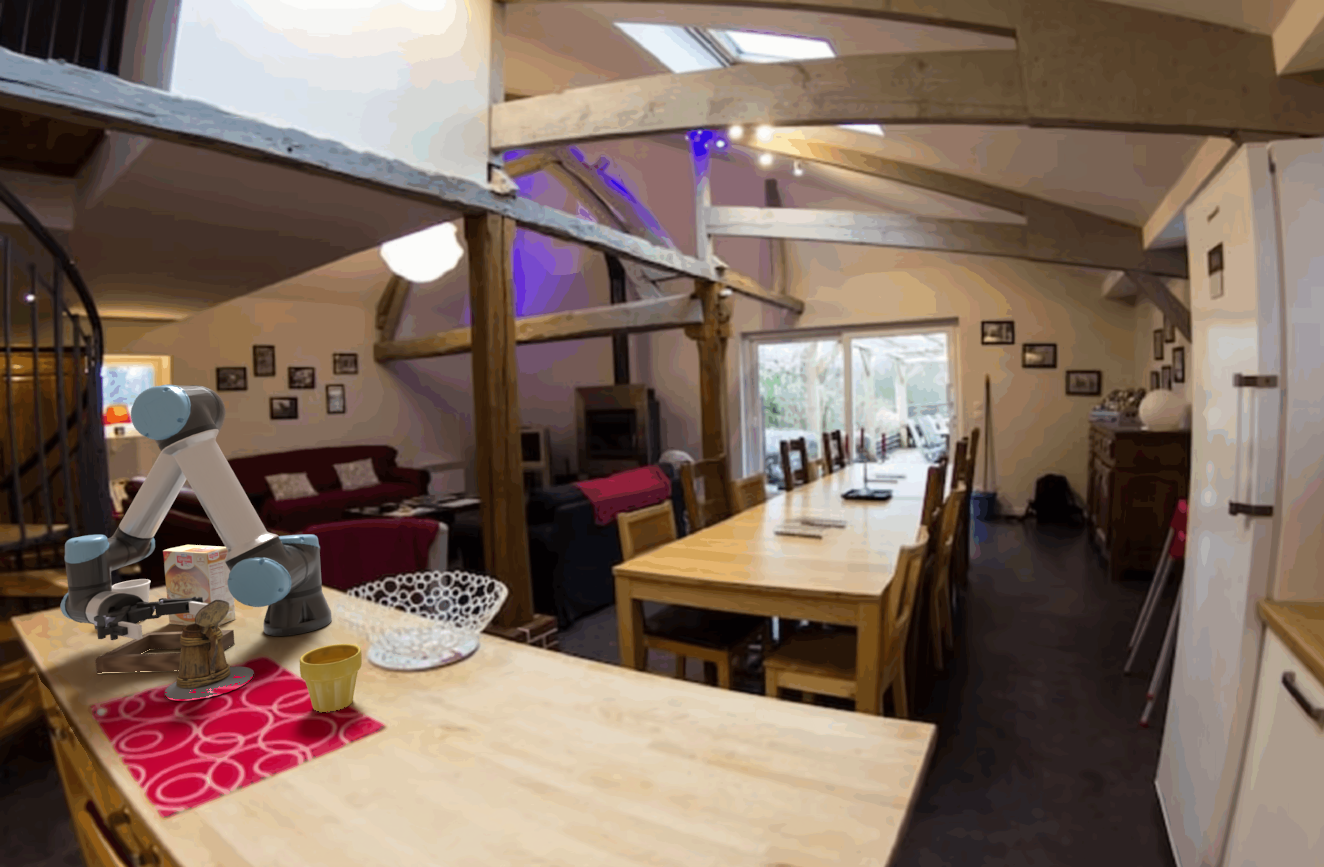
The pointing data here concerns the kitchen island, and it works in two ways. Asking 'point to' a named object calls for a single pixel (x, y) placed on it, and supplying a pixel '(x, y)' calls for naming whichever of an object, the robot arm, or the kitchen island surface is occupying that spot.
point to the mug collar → (133, 660)
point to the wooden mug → (203, 648)
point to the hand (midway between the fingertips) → (176, 621)
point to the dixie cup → (134, 588)
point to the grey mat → (184, 693)
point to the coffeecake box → (197, 578)
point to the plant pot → (331, 675)
